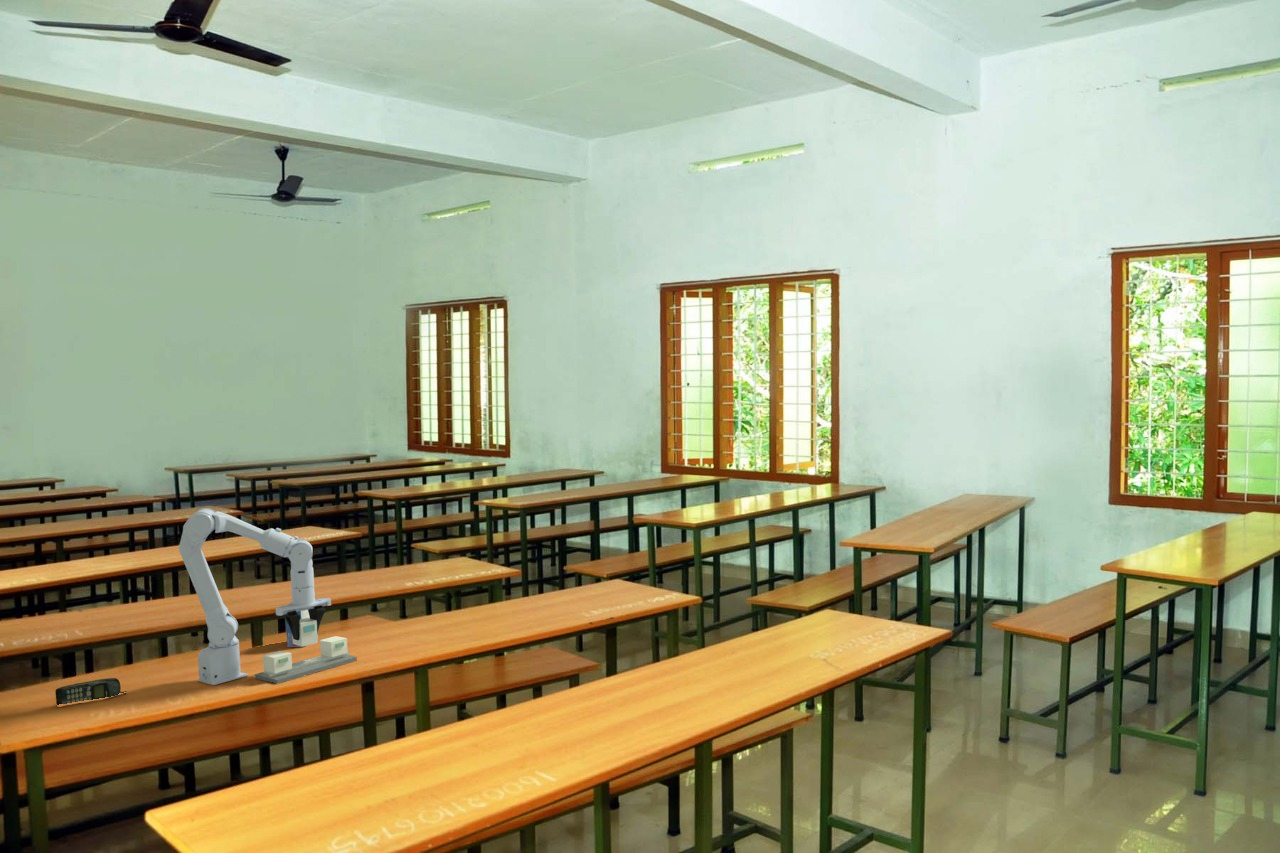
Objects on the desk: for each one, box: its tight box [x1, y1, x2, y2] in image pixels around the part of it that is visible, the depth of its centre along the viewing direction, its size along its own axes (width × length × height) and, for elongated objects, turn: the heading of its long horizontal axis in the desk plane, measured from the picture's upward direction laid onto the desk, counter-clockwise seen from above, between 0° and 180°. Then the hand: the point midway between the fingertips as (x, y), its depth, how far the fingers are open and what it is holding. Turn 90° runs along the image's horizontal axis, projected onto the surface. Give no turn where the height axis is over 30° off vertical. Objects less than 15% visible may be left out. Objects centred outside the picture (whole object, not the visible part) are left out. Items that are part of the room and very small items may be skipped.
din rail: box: [262, 650, 350, 678], centre depth 257 cm, size 24×4×1 cm, turn 143°
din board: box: [254, 654, 358, 684], centre depth 257 cm, size 24×10×1 cm, turn 143°
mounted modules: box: [262, 635, 349, 673], centre depth 257 cm, size 22×5×4 cm, turn 143°
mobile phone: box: [55, 677, 128, 706], centre depth 237 cm, size 5×3×15 cm
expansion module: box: [292, 618, 319, 647], centre depth 257 cm, size 4×5×6 cm
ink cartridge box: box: [284, 602, 319, 648], centre depth 286 cm, size 10×6×14 cm, turn 174°
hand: (305, 637), depth 257 cm, fingers closed on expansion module, 4 cm apart
